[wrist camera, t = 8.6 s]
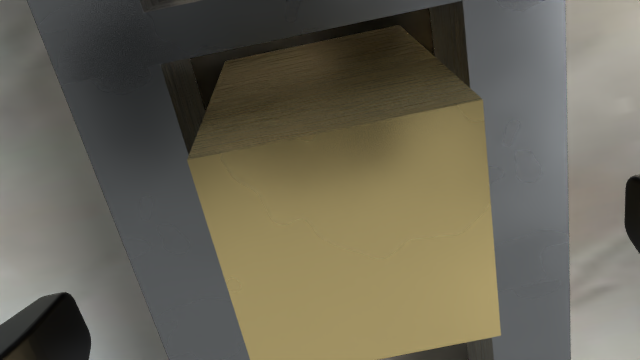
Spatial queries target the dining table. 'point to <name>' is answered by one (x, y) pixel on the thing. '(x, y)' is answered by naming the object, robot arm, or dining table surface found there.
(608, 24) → the dining table surface
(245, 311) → the brass block
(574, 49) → the dining table surface
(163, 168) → the grey slotted tray
